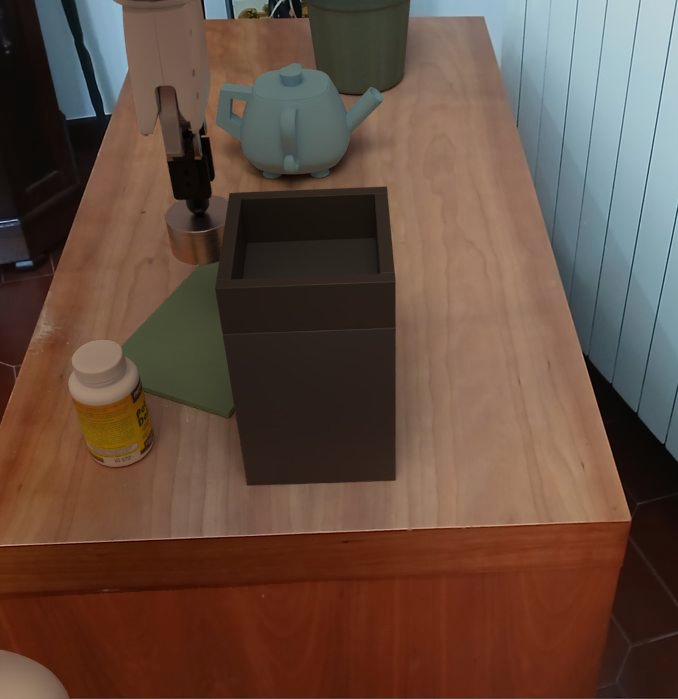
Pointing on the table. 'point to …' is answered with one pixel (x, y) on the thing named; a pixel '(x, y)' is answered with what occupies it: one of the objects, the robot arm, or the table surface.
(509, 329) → the table surface
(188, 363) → the green mat
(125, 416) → the supplement bottle
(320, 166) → the teapot
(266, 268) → the black box
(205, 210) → the meat pounder
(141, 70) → the robot arm
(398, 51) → the flower pot
